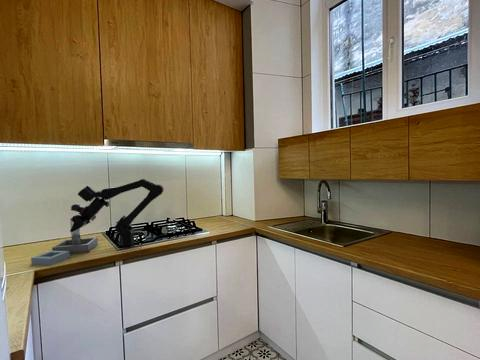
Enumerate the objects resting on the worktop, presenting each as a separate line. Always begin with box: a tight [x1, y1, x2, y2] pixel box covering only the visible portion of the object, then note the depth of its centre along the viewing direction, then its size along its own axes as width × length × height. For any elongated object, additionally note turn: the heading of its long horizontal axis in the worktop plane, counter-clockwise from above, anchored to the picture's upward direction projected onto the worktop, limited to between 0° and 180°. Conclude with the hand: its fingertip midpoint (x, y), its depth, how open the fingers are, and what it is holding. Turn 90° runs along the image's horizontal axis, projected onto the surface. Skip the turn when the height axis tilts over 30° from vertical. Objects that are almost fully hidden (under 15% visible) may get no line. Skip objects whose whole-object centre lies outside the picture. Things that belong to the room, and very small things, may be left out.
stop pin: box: [69, 217, 82, 244], centre depth 136 cm, size 4×4×13 cm
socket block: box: [30, 250, 71, 266], centre depth 121 cm, size 10×10×3 cm
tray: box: [51, 236, 99, 255], centre depth 137 cm, size 16×14×4 cm
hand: (72, 230), depth 136 cm, fingers closed on stop pin, 4 cm apart
